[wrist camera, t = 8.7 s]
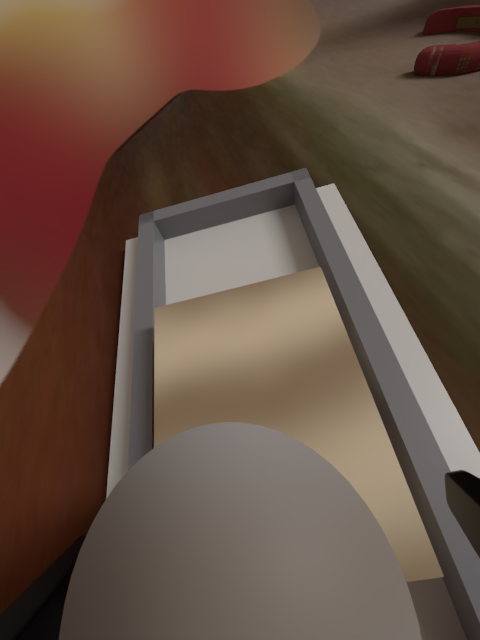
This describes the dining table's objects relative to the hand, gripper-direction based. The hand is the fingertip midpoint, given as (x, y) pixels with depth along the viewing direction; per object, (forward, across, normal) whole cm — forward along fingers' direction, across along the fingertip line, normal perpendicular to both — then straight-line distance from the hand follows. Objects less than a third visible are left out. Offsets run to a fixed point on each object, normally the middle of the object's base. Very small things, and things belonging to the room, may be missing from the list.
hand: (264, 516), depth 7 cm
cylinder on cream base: (+7, 0, +2) cm, 7 cm away
